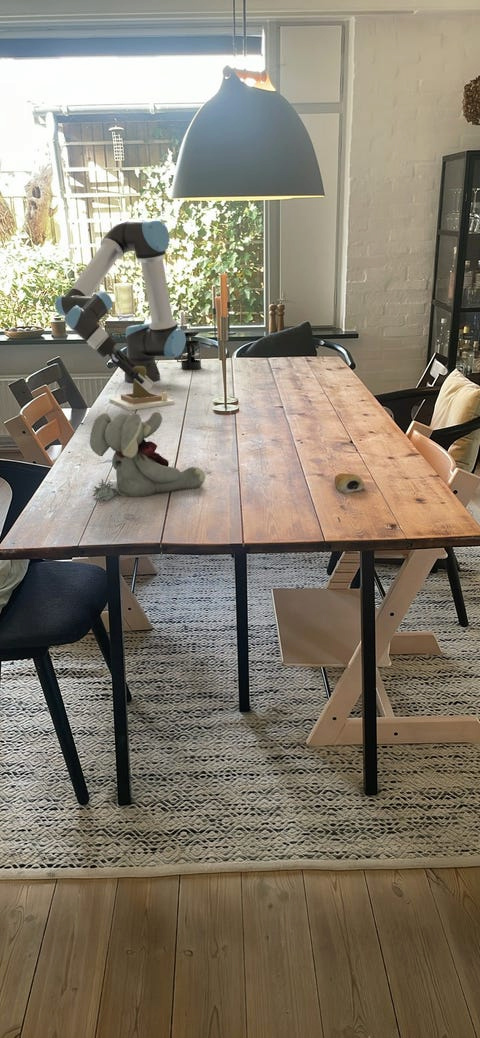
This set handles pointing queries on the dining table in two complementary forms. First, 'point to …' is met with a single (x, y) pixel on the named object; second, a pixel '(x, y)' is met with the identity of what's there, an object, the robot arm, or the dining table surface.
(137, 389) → the cork
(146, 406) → the seat board
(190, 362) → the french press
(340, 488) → the pastry
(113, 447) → the plush elephant
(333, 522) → the dining table surface
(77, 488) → the dining table surface
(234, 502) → the dining table surface
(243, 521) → the dining table surface
